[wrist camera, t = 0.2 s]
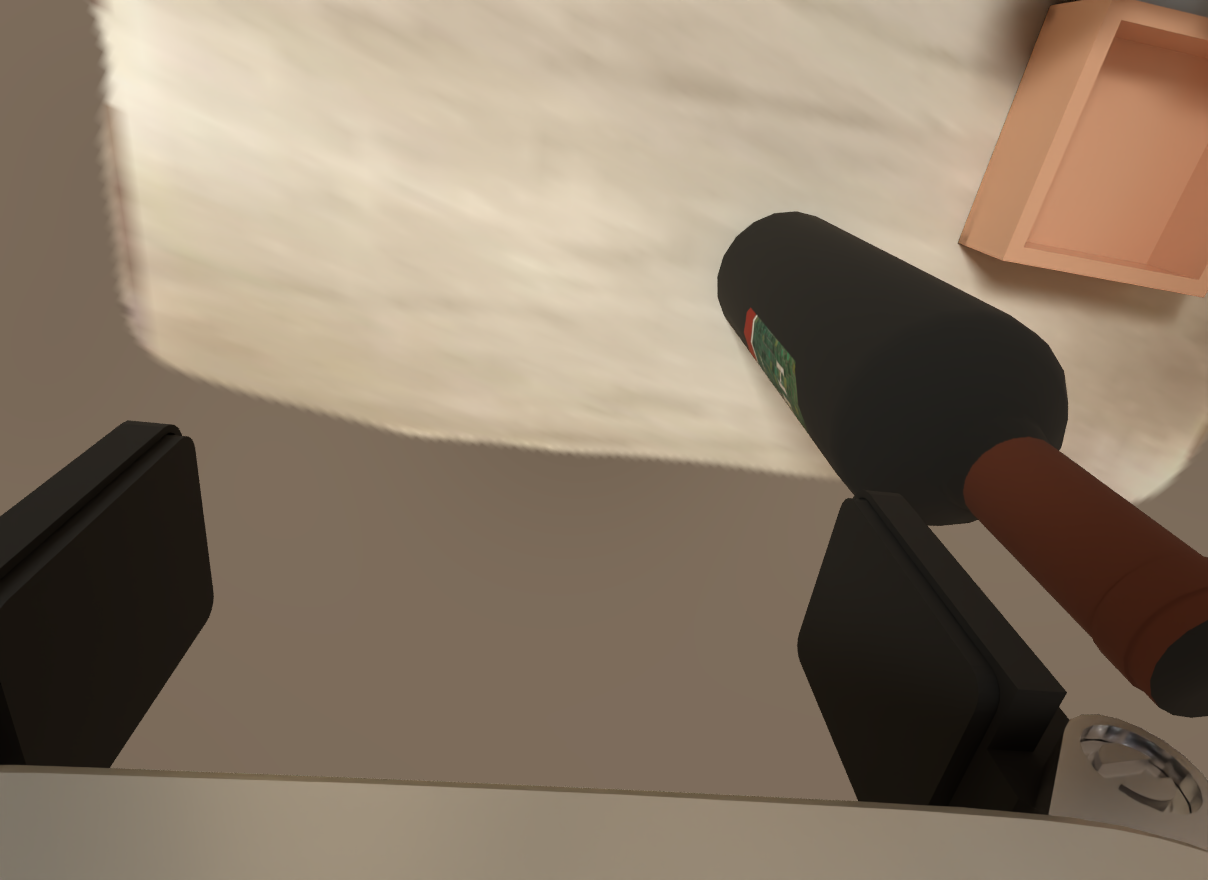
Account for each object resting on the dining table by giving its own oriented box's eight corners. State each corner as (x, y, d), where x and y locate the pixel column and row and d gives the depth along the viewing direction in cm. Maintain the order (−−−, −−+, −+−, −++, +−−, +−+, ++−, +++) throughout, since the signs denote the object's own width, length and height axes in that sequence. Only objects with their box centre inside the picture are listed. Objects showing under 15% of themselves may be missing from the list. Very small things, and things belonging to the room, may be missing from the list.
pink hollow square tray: (1050, 5, 35) (1113, -6, 31) (1255, 53, 36) (1341, 49, 32) (957, 242, 40) (1002, 260, 36) (1141, 276, 41) (1203, 297, 37)
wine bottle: (876, 271, 40) (1498, 636, 14) (780, 368, 43) (1149, 844, 16) (786, 181, 38) (1328, 409, 11) (689, 289, 40) (944, 693, 13)
